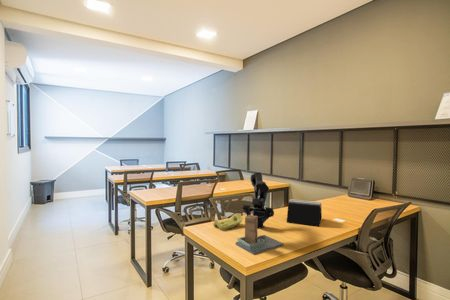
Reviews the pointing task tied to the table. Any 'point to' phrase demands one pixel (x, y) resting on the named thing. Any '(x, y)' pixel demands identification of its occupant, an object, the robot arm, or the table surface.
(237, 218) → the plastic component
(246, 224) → the tall wooden pillar
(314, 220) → the device stand
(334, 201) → the table surface
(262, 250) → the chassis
